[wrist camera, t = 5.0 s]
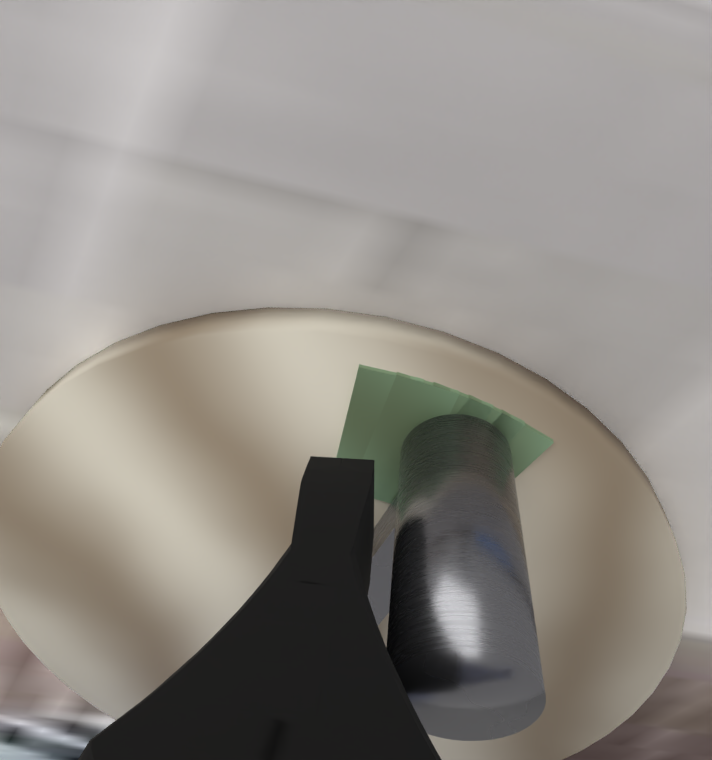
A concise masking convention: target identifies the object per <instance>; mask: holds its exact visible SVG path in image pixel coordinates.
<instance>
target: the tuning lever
mask: <svg viewBox="0 0 712 760" xmlns="http://www.w3.org/2000/svg"><path fill="white" fill-rule="evenodd" d="M368 599H369V602H370V605H371V608H372V611H373V614H374V617H375V620H376V622H377V625H379V624H380V623H381V621H382V620H383V619H384V618H385V617H386V615H387V614H388V613H389V620H388V634H387V647H386V648H387V651H388V653H389V655H390V657H391V660H392V662H393V664H394V666H395V669H396V671H397V673H398V675H399V678H400V680H401V682H402V684H403V686H404V689H405V691H406V693H407V695H408V697H409V699H410V701H411V703H412V705H413V707H414V709H415V711H416V713H417V715H418V717H419V719H420V721H421V723H422V725H423V727H424V729H425V731H426V733H427V734H429V735H432V736H436V737H440V738H445V739H451V740H460V741H484V740H492V739H498V738H502V737H506V736H509V735H512V734H515V733H518V732H520V731H522V730H524V729H526V728H527V727H529V726H530V725H532V724H533V723H534V722H535V721H536V720H537V719H538V718H539V717H540V715H541V714H542V712H543V710H544V708H545V704H546V695H545V688H544V681H543V674H542V667H541V660H540V653H539V646H538V638H537V631H536V624H535V617H534V610H533V603H532V596H531V589H530V582H529V575H528V568H527V561H526V554H525V547H524V540H523V533H522V526H521V519H520V512H519V505H518V498H517V490H516V483H515V476H514V469H513V462H512V455H511V450H510V446H509V443H508V441H507V439H506V438H505V436H504V435H503V434H502V432H501V431H500V430H499V429H497V428H496V427H495V426H494V425H492V424H491V423H489V422H487V421H485V420H483V419H480V418H478V417H474V416H470V415H463V414H448V415H442V416H437V417H434V418H431V419H429V420H426V421H424V422H423V423H421V424H419V425H418V426H416V427H415V428H414V429H413V430H412V431H411V432H410V433H409V434H408V436H407V437H406V439H405V440H404V442H403V445H402V448H401V455H400V469H399V482H398V495H397V496H396V497H395V499H394V500H393V502H392V503H391V505H390V506H389V507H388V509H387V510H386V512H385V513H384V514H383V516H382V517H381V519H380V520H379V521H378V523H377V524H376V526H375V527H374V539H373V551H372V564H371V575H370V585H369V591H368Z"/></svg>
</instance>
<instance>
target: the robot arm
mask: <svg viewBox="0 0 712 760" xmlns="http://www.w3.org/2000/svg"><path fill="white" fill-rule="evenodd" d="M373 539H374V460H368V459H350V458H333V457H316V456H311V457H310V459H309V462H308V464H307V466H306V469H305V472H304V474H303V477H302V480H301V484H300V490H299V497H298V503H297V509H296V516H295V522H294V529H293V535H292V542H291V545H290V546H289V547H288V549H287V550H286V551H285V553H284V554H283V555H282V557H281V558H280V560H279V561H278V562H277V564H276V565H275V566H274V568H273V569H272V570H271V572H270V573H269V574H268V576H267V577H266V578H265V579H264V581H263V582H262V583H261V584H260V586H259V587H258V588H257V589H256V590H255V592H254V593H253V594H252V595H251V596H250V597H249V598H248V600H247V601H246V602H245V603H244V604H243V605H242V607H241V608H240V609H239V610H238V611H237V612H236V613H235V614H234V615H233V616H232V617H231V618H230V619H229V620H228V622H227V623H226V624H225V625H224V626H223V627H222V628H221V629H220V630H219V631H218V632H217V633H216V634H215V635H214V636H213V637H212V638H211V639H210V640H209V641H208V642H207V643H206V644H205V645H204V646H203V647H202V648H201V649H200V650H199V651H198V652H197V653H196V654H195V655H194V656H192V657H191V658H190V659H189V660H188V661H187V662H186V663H185V664H183V665H182V666H181V667H180V668H179V669H178V670H177V671H176V672H174V673H173V674H172V675H171V676H170V677H169V678H168V679H167V680H165V681H164V682H163V683H162V684H161V685H160V686H159V687H158V688H156V689H155V690H154V691H153V692H152V693H150V694H149V695H148V696H147V697H146V698H144V699H143V700H142V701H141V702H139V703H138V704H137V705H135V706H134V707H133V708H131V709H130V710H129V711H128V712H126V713H125V714H124V715H122V716H121V717H120V718H118V719H117V720H116V721H115V722H113V723H112V724H111V725H109V726H108V727H107V728H106V729H104V730H103V731H102V732H100V733H99V734H98V735H96V736H95V737H94V738H92V739H91V740H90V741H89V743H88V744H87V746H86V748H85V749H84V751H83V753H82V754H81V756H80V757H79V759H78V760H441V758H440V756H439V754H438V753H437V751H436V749H435V747H434V745H433V744H432V742H431V740H430V738H429V736H428V734H427V733H426V731H425V729H424V727H423V725H422V723H421V721H420V719H419V717H418V715H417V713H416V711H415V709H414V707H413V705H412V703H411V701H410V699H409V697H408V695H407V693H406V691H405V689H404V686H403V684H402V682H401V680H400V678H399V675H398V673H397V671H396V669H395V666H394V664H393V662H392V660H391V657H390V655H389V653H388V651H387V648H386V646H385V643H384V641H383V638H382V635H381V633H380V630H379V628H378V625H377V622H376V620H375V617H374V614H373V611H372V608H371V605H370V602H369V599H368V591H369V585H370V575H371V564H372V551H373Z"/></svg>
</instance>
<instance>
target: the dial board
mask: <svg viewBox="0 0 712 760" xmlns="http://www.w3.org/2000/svg"><path fill="white" fill-rule="evenodd" d="M448 414H463V415H470V416H474V417H478V418H480V419H483V420H485V421H487V422H489V423H491V424H492V425H494V426H495V427H496V428H497V429H499V430H500V431H501V432H502V434H503V435H504V436H505V438H506V439H507V441H508V443H509V446H510V450H511V455H512V462H513V469H514V476H515V483H516V490H517V498H518V505H519V512H520V519H521V526H522V533H523V540H524V547H525V554H526V561H527V568H528V575H529V582H530V589H531V596H532V603H533V610H534V617H535V624H536V631H537V638H538V646H539V653H540V660H541V667H542V674H543V681H544V688H545V695H546V704H545V708H544V710H543V712H542V714H541V715H540V717H539V718H538V719H537V720H536V721H535V722H534V723H533V724H532V725H530V726H529V727H527V728H526V729H524V730H522V731H520V732H518V733H515V734H512V735H509V736H506V737H502V738H498V739H492V740H484V741H460V740H451V739H445V738H440V737H436V736H432V735H429V734H428V736H429V738H430V740H431V742H432V744H433V745H434V747H435V749H436V751H437V753H438V754H439V756H440V758H441V760H562V759H565V758H567V757H569V756H571V755H573V754H575V753H577V752H580V751H582V750H583V749H585V748H587V747H588V746H590V745H591V744H593V743H595V742H596V741H598V740H600V739H601V738H603V737H605V736H606V735H608V734H609V733H610V732H612V731H613V730H614V729H615V728H617V727H618V726H619V725H620V724H622V723H623V722H624V721H625V720H627V719H628V718H629V717H631V716H632V715H633V714H634V713H635V712H636V711H637V709H638V708H639V707H640V706H641V705H642V704H643V703H644V702H645V701H646V700H647V699H648V698H649V697H650V696H651V694H652V693H653V692H654V691H655V689H656V687H657V686H658V684H659V683H660V681H661V680H662V678H663V677H664V675H665V674H666V672H667V671H668V669H669V668H670V665H671V663H672V660H673V658H674V655H675V653H676V651H677V648H678V646H679V643H680V641H681V637H682V631H683V626H684V620H685V614H686V586H685V574H684V570H683V566H682V562H681V559H680V555H679V551H678V547H677V543H676V540H675V538H674V535H673V533H672V530H671V528H670V525H669V522H668V520H667V517H666V515H665V512H664V510H663V508H662V506H661V504H660V502H659V500H658V498H657V496H656V494H655V492H654V490H653V488H652V486H651V484H650V482H649V480H648V478H647V476H646V475H645V473H644V472H643V471H642V469H641V468H640V466H639V465H638V464H637V462H636V461H635V460H634V458H633V457H632V456H631V454H630V453H629V452H628V450H627V449H626V448H625V446H624V445H623V444H622V442H621V441H620V440H619V439H618V438H617V437H616V436H615V435H614V434H613V433H612V432H611V431H609V430H608V429H607V428H606V427H605V426H604V425H603V424H602V423H601V422H600V421H599V420H598V419H597V418H596V417H595V416H594V415H593V414H592V413H591V412H590V411H589V410H588V409H587V408H585V407H584V406H582V405H581V404H580V403H578V402H577V401H576V400H574V399H573V398H571V397H570V396H569V395H567V394H566V393H565V392H563V391H562V390H560V389H559V388H558V387H556V386H555V385H553V384H552V383H551V382H549V381H548V380H547V379H545V378H543V377H541V376H539V375H537V374H536V373H534V372H532V371H530V370H528V369H526V368H524V367H523V366H521V365H519V364H517V363H515V362H513V361H511V360H510V359H508V358H506V357H504V356H502V355H500V354H499V353H496V352H494V351H491V350H489V349H486V348H483V347H481V346H478V345H476V344H473V343H471V342H468V341H465V340H463V339H460V338H458V337H455V336H453V335H450V334H447V333H445V332H442V331H438V330H434V329H430V328H426V327H422V326H418V325H414V324H411V323H407V322H403V321H399V320H395V319H391V318H387V317H381V316H374V315H367V314H360V313H353V312H345V311H338V310H331V309H307V308H260V309H250V310H240V311H230V312H220V313H211V314H207V315H203V316H198V317H194V318H190V319H185V320H181V321H177V322H172V323H168V324H164V325H160V326H157V327H155V328H152V329H150V330H147V331H144V332H142V333H139V334H137V335H134V336H131V337H129V338H126V339H124V340H121V341H118V342H116V343H114V344H112V345H111V346H109V347H107V348H105V349H104V350H102V351H100V352H98V353H97V354H95V355H93V356H92V357H90V358H88V359H86V360H85V361H83V362H81V363H79V364H78V365H76V366H75V367H74V368H73V369H72V370H70V371H69V372H68V373H67V374H66V375H64V376H63V377H62V378H61V379H59V380H58V381H57V382H56V383H55V384H53V385H52V386H51V387H50V388H49V389H47V390H46V392H45V393H44V394H43V395H42V396H41V397H40V398H39V400H38V401H37V402H36V403H35V404H34V405H33V407H32V408H31V409H30V410H29V411H28V412H27V414H26V415H25V416H24V417H23V418H22V420H21V421H20V422H19V423H18V424H17V426H16V427H15V428H14V429H13V430H12V432H11V433H10V434H9V435H8V437H7V438H6V439H5V440H4V441H3V443H2V445H1V447H0V607H1V609H2V611H3V613H4V615H5V617H6V618H7V620H8V621H9V623H10V624H11V625H12V627H13V628H14V630H15V631H16V632H17V634H18V635H19V637H20V638H21V639H22V641H23V642H24V644H25V645H26V646H27V647H28V648H29V649H30V650H31V651H32V652H33V653H34V655H35V656H36V657H37V658H38V659H39V660H40V661H41V662H42V663H43V664H44V666H45V667H46V668H48V669H49V670H50V671H51V672H52V673H53V674H54V675H55V676H56V677H58V678H59V679H60V680H61V681H62V682H63V683H64V684H65V685H67V686H68V687H69V688H70V689H71V690H73V691H74V692H75V693H77V694H78V695H79V696H81V697H82V698H83V699H85V700H86V701H87V702H89V703H90V704H91V705H93V706H94V707H95V708H97V709H99V710H100V711H102V712H103V713H105V714H107V715H108V716H110V717H111V718H113V719H115V720H117V719H118V718H120V717H121V716H122V715H124V714H125V713H126V712H128V711H129V710H130V709H131V708H133V707H134V706H135V705H137V704H138V703H139V702H141V701H142V700H143V699H144V698H146V697H147V696H148V695H149V694H150V693H152V692H153V691H154V690H155V689H156V688H158V687H159V686H160V685H161V684H162V683H163V682H164V681H165V680H167V679H168V678H169V677H170V676H171V675H172V674H173V673H174V672H176V671H177V670H178V669H179V668H180V667H181V666H182V665H183V664H185V663H186V662H187V661H188V660H189V659H190V658H191V657H192V656H194V655H195V654H196V653H197V652H198V651H199V650H200V649H201V648H202V647H203V646H204V645H205V644H206V643H207V642H208V641H209V640H210V639H211V638H212V637H213V636H214V635H215V634H216V633H217V632H218V631H219V630H220V629H221V628H222V627H223V626H224V625H225V624H226V623H227V622H228V620H229V619H230V618H231V617H232V616H233V615H234V614H235V613H236V612H237V611H238V610H239V609H240V608H241V607H242V605H243V604H244V603H245V602H246V601H247V600H248V598H249V597H250V596H251V595H252V594H253V593H254V592H255V590H256V589H257V588H258V587H259V586H260V584H261V583H262V582H263V581H264V579H265V578H266V577H267V576H268V574H269V573H270V572H271V570H272V569H273V568H274V566H275V565H276V564H277V562H278V561H279V560H280V558H281V557H282V555H283V554H284V553H285V551H286V550H287V549H288V547H289V546H290V545H291V542H292V535H293V529H294V522H295V516H296V509H297V503H298V497H299V490H300V484H301V480H302V477H303V474H304V472H305V469H306V466H307V464H308V462H309V459H310V457H311V456H316V457H333V458H350V459H368V460H374V527H375V526H376V524H377V523H378V521H379V520H380V519H381V517H382V516H383V514H384V513H385V512H386V510H387V509H388V507H389V506H390V505H391V503H392V502H393V500H394V499H395V497H396V496H397V495H398V482H399V469H400V455H401V448H402V445H403V442H404V440H405V439H406V437H407V436H408V434H409V433H410V432H411V431H412V430H413V429H414V428H415V427H416V426H418V425H419V424H421V423H423V422H424V421H426V420H429V419H431V418H434V417H437V416H442V415H448ZM388 620H389V613H388V614H387V615H386V617H385V618H384V619H383V620H382V621H381V623H380V624H379V625H378V628H379V630H380V633H381V635H382V638H383V641H384V643H385V646H386V647H387V634H388Z"/></svg>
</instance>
